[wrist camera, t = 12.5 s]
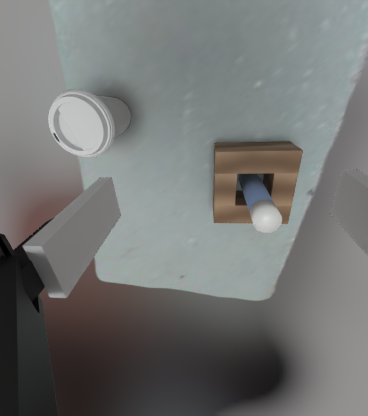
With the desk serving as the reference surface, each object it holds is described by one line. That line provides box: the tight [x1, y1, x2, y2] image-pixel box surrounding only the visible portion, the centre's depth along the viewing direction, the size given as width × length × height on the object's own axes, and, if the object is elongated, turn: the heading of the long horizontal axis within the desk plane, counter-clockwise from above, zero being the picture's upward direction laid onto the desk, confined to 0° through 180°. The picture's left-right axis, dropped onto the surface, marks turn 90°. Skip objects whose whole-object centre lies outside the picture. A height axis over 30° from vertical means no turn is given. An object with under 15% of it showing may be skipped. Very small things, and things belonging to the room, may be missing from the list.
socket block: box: [213, 142, 303, 224], centre depth 45 cm, size 14×14×7 cm
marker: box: [239, 174, 282, 233], centre depth 40 cm, size 4×4×18 cm
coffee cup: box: [48, 89, 131, 157], centre depth 38 cm, size 10×10×15 cm
